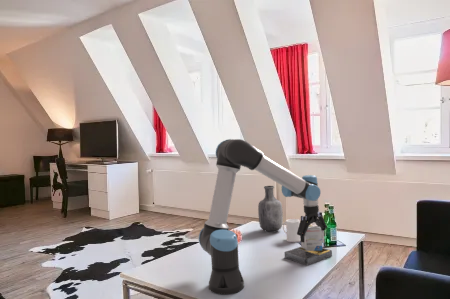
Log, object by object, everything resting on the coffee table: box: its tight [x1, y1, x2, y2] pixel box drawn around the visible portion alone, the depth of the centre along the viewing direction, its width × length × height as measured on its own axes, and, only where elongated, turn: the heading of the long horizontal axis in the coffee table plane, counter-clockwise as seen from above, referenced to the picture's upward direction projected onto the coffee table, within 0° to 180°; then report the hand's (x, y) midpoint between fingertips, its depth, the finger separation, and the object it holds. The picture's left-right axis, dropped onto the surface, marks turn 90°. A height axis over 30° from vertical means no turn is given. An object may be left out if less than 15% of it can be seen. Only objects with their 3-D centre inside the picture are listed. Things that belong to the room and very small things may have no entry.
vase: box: [257, 185, 284, 233], centre depth 230 cm, size 16×16×30 cm
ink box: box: [305, 225, 323, 251], centre depth 180 cm, size 9×5×12 cm, turn 84°
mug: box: [282, 218, 301, 243], centre depth 209 cm, size 12×8×12 cm
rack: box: [284, 246, 333, 266], centre depth 178 cm, size 19×15×3 cm
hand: (313, 245), depth 180 cm, fingers open, 13 cm apart
